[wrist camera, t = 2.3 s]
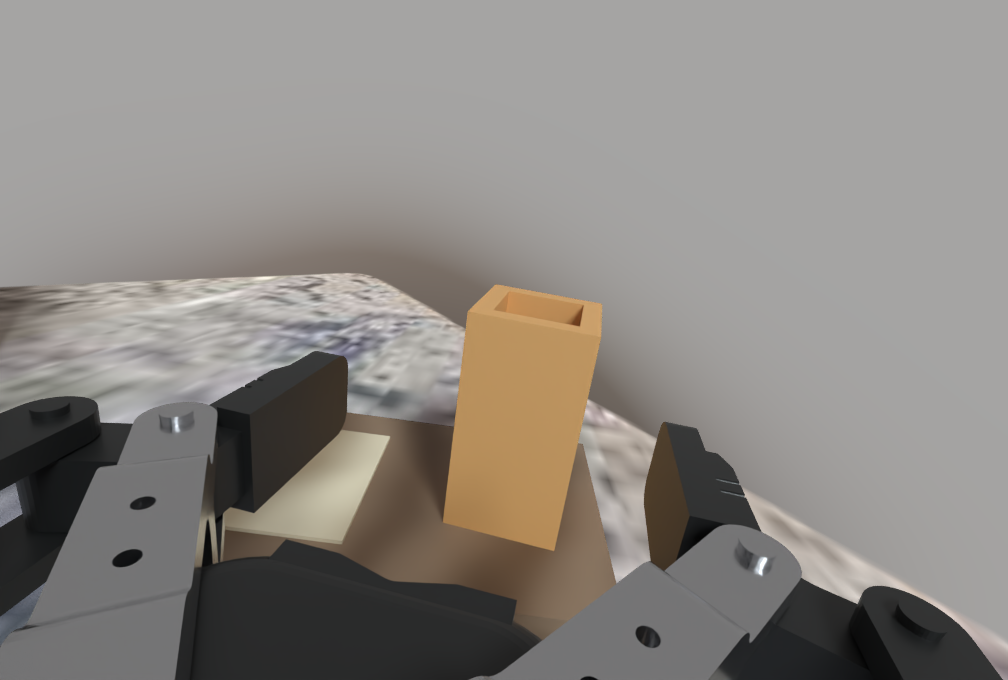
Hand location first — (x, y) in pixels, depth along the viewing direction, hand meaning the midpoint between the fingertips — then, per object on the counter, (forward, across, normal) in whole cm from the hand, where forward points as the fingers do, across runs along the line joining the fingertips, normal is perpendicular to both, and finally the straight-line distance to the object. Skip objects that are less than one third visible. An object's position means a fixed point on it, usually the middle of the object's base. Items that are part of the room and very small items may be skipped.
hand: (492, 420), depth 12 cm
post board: (+10, +6, +12) cm, 17 cm away
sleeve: (+12, 0, +11) cm, 16 cm away
